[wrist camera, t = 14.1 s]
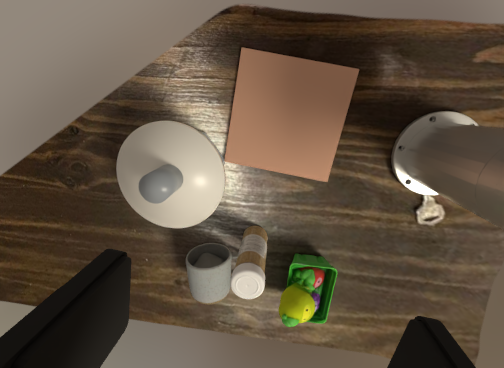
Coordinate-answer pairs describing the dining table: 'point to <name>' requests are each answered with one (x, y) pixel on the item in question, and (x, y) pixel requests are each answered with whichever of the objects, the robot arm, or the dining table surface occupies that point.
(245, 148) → the mat
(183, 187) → the lid
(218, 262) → the ceramic mug
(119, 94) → the dining table surface
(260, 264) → the spice bottle
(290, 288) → the fruit basket
